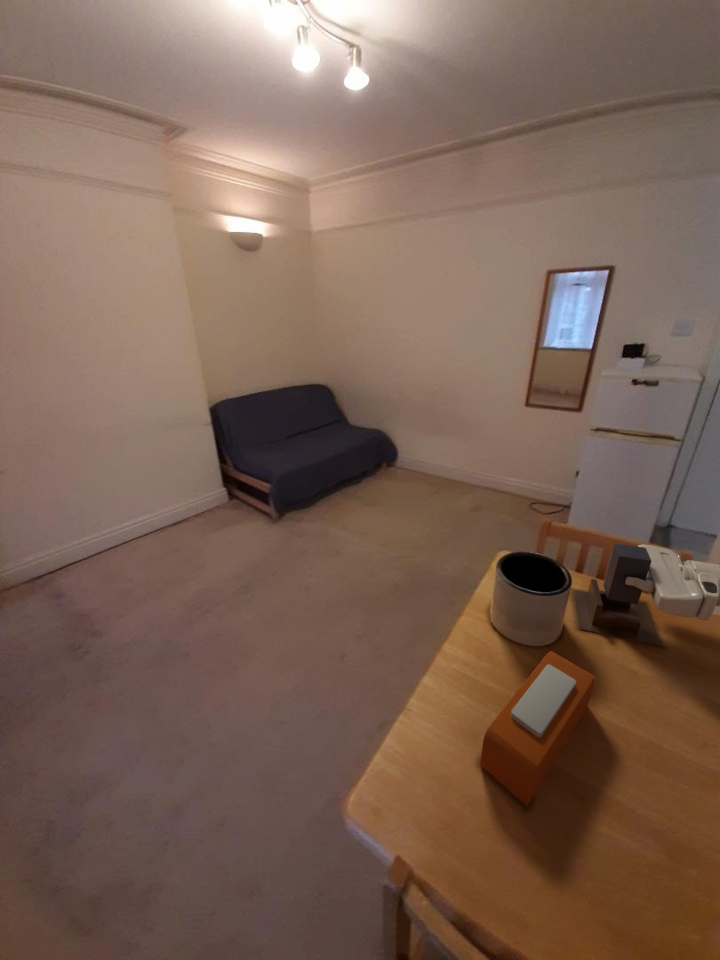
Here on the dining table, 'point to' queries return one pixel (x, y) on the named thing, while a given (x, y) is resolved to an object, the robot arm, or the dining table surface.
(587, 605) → the brown holder on base
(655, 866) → the dining table surface
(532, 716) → the alarm clock
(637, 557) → the dark grey block
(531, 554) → the planter
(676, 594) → the robot arm
